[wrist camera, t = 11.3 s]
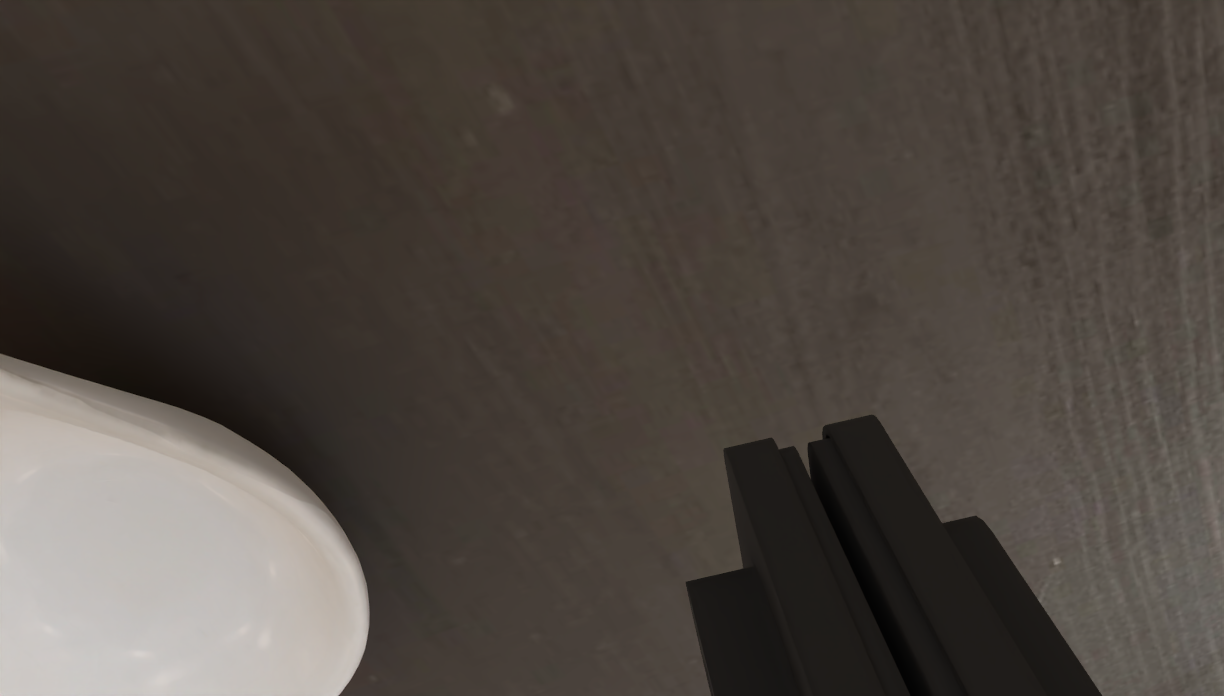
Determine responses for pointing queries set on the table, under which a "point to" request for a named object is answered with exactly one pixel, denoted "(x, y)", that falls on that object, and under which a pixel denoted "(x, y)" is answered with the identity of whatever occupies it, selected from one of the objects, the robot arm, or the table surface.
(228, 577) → the spoon rest
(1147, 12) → the table surface
